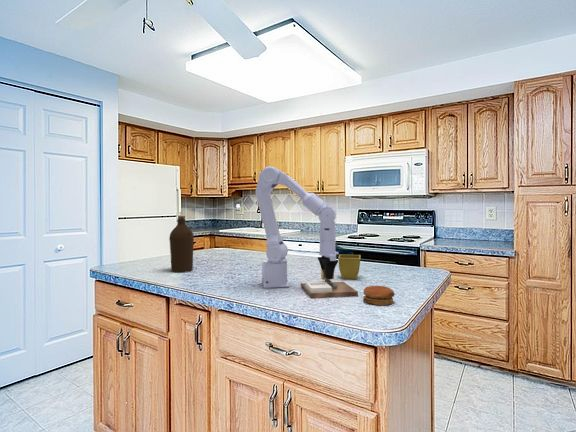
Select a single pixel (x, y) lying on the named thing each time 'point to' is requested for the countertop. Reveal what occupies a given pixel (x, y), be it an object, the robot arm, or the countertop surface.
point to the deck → (333, 291)
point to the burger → (378, 295)
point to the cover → (318, 286)
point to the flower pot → (349, 266)
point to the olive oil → (181, 247)
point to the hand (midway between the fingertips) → (327, 277)
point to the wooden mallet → (327, 279)
